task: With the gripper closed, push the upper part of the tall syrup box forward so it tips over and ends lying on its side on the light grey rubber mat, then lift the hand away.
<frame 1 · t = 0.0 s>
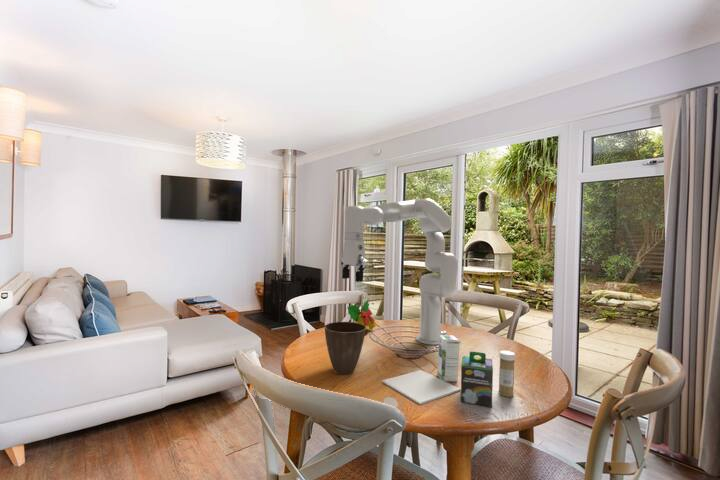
hand: (352, 279, 139), 31 cm above the table, tool pointing down, fingers open, 9 cm apart
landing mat: (420, 386, 115), on the table
syrup box: (447, 378, 122), on the table
ornament: (364, 332, 176), on the table
plant pot: (343, 370, 126), on the table
chalk box: (476, 399, 107), on the table
sprinkles bottle: (505, 394, 111), on the table
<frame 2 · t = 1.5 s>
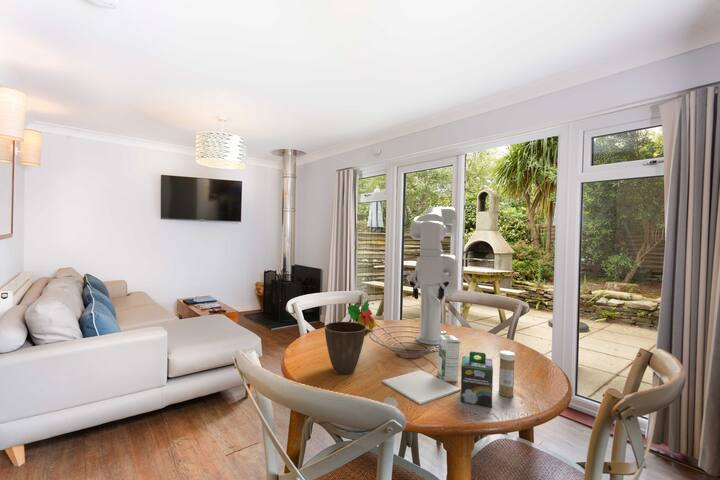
hand: (428, 298, 132), 26 cm above the table, tool pointing down, fingers open, 9 cm apart
nothing on the table moved.
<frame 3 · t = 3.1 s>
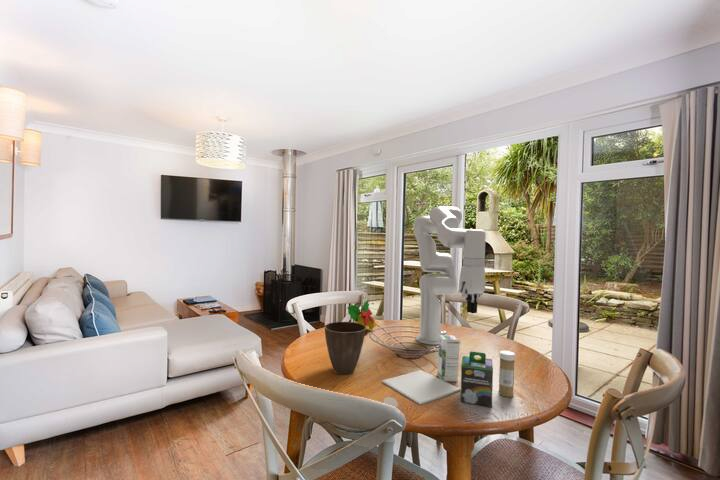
hand: (471, 312, 128), 22 cm above the table, tool pointing down, fingers closed
nothing on the table moved.
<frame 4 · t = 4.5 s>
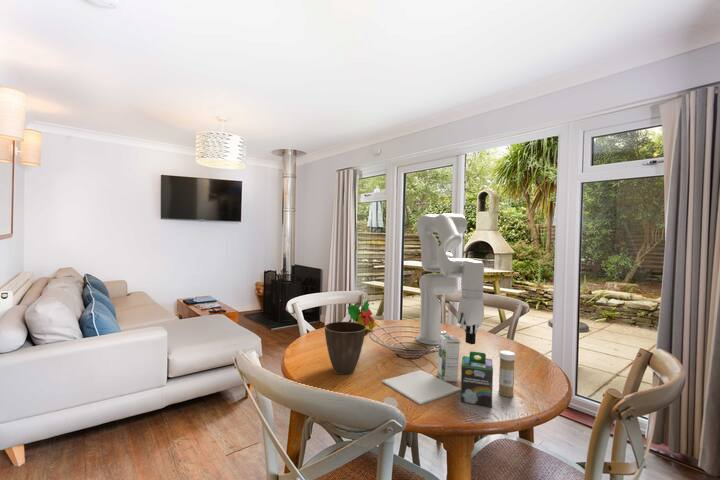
hand: (470, 343, 129), 11 cm above the table, tool pointing down, fingers closed
nothing on the table moved.
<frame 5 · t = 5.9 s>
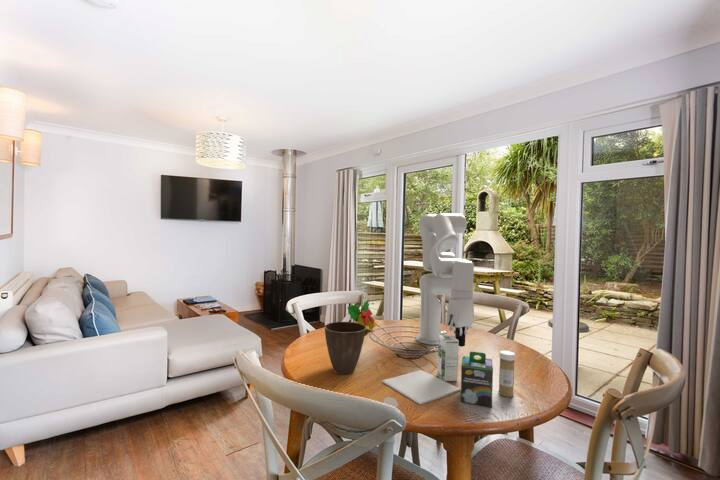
hand: (459, 345, 125), 11 cm above the table, tool pointing down, fingers closed
syrup box: (447, 378, 122), on the table, touching gripper
everything else where it was.
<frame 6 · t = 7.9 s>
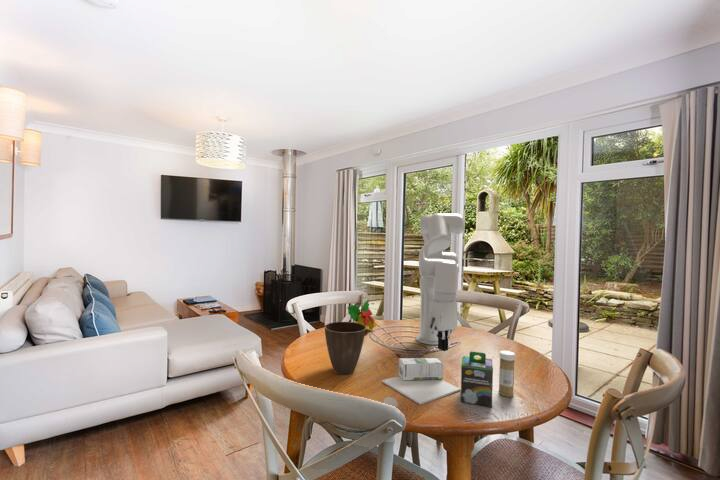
hand: (442, 349, 120), 11 cm above the table, tool pointing down, fingers closed
syrup box: (441, 368, 122), point 4 cm above the table, touching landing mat
everything else where it was.
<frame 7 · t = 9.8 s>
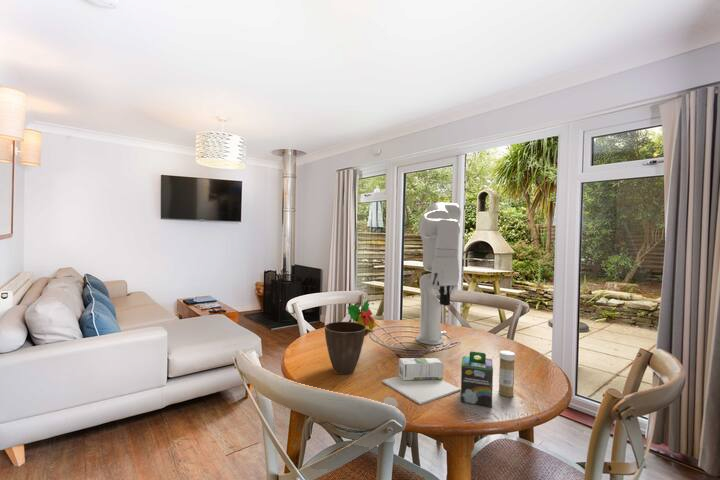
hand: (444, 304, 125), 25 cm above the table, tool pointing down, fingers closed
nothing on the table moved.
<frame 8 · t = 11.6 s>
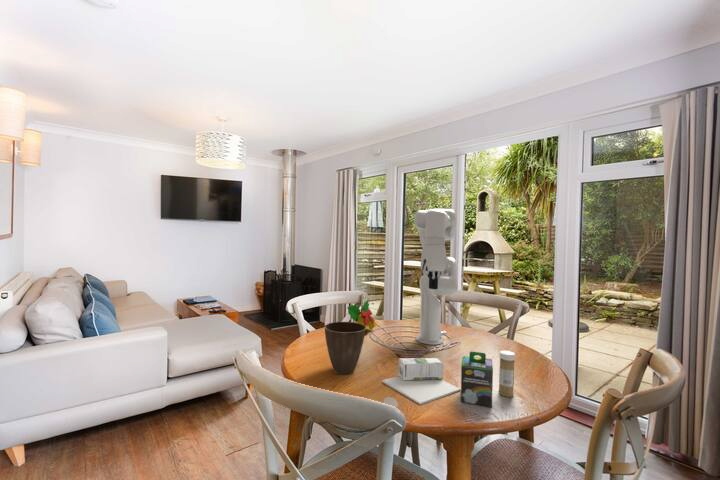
hand: (433, 288, 137), 29 cm above the table, tool pointing down, fingers closed
nothing on the table moved.
at the end: syrup box tilted 90°; syrup box inside the target area (7.6 cm from its centre), point 3.6 cm above the table; syrup box touching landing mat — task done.
